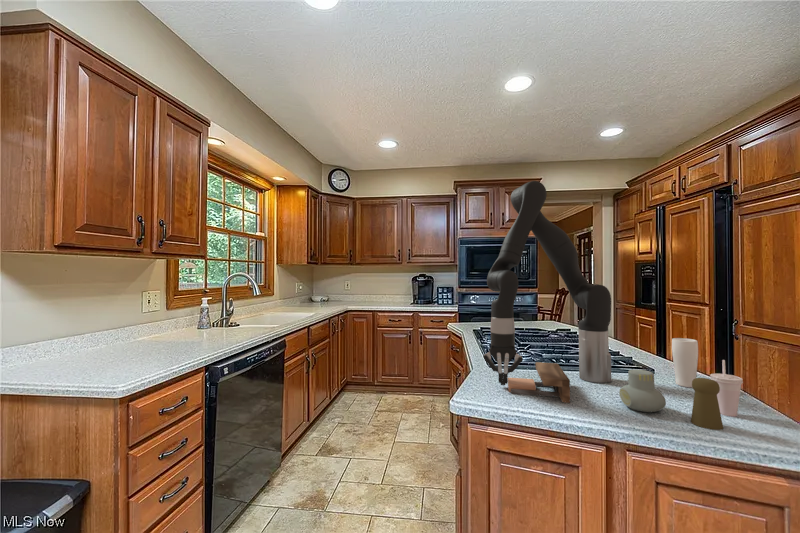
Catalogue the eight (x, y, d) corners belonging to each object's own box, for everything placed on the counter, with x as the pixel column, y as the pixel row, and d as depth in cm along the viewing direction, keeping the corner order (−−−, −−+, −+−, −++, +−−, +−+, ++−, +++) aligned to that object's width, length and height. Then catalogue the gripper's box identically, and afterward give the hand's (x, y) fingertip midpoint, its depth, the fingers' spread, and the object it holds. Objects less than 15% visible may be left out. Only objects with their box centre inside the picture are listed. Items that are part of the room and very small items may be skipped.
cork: (729, 430, 83) (728, 383, 83) (700, 428, 84) (698, 382, 84) (712, 420, 89) (711, 376, 89) (685, 418, 90) (684, 374, 90)
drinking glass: (699, 385, 117) (698, 339, 117) (698, 390, 112) (697, 342, 112) (674, 381, 121) (672, 337, 122) (671, 385, 116) (670, 339, 117)
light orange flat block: (533, 386, 116) (533, 379, 116) (535, 393, 110) (535, 385, 110) (507, 385, 118) (507, 377, 118) (508, 391, 112) (508, 383, 112)
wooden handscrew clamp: (557, 382, 121) (557, 363, 121) (570, 403, 101) (569, 380, 102) (508, 379, 125) (508, 360, 125) (511, 398, 105) (511, 376, 106)
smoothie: (704, 409, 96) (702, 357, 96) (726, 408, 96) (724, 356, 97) (728, 419, 89) (726, 363, 90) (751, 418, 90) (749, 362, 90)
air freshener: (670, 417, 91) (669, 378, 91) (634, 415, 92) (633, 376, 92) (648, 402, 102) (647, 367, 102) (616, 400, 103) (615, 366, 103)
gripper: (522, 330, 118) (523, 382, 118) (482, 328, 121) (482, 379, 121) (524, 333, 111) (525, 389, 110) (481, 332, 114) (481, 386, 114)
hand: (503, 384), depth 116 cm, fingers closed
